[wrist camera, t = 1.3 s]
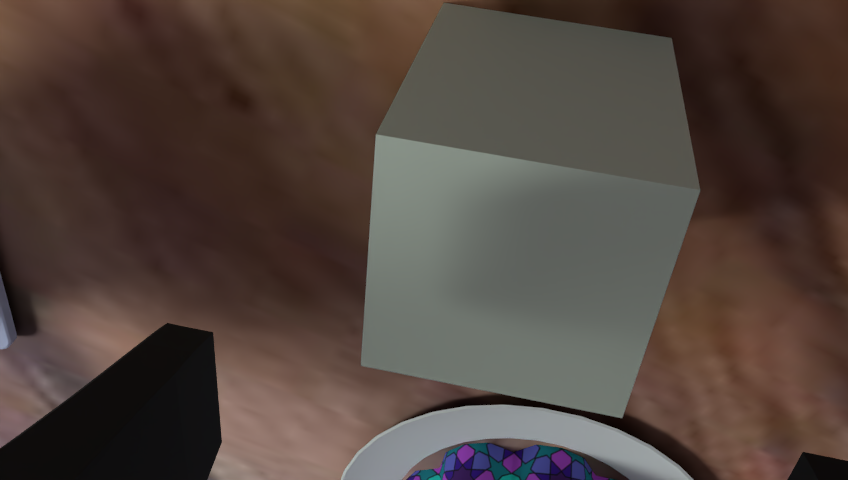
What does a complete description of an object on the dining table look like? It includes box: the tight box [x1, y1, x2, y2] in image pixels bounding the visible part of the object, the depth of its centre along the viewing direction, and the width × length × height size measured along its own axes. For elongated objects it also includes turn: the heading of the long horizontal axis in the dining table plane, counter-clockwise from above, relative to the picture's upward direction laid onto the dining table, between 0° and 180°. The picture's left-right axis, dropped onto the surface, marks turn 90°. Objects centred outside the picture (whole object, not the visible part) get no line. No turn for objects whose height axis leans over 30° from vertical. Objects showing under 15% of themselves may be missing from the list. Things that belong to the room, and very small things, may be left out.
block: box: [361, 3, 700, 418], centre depth 15 cm, size 5×5×6 cm
